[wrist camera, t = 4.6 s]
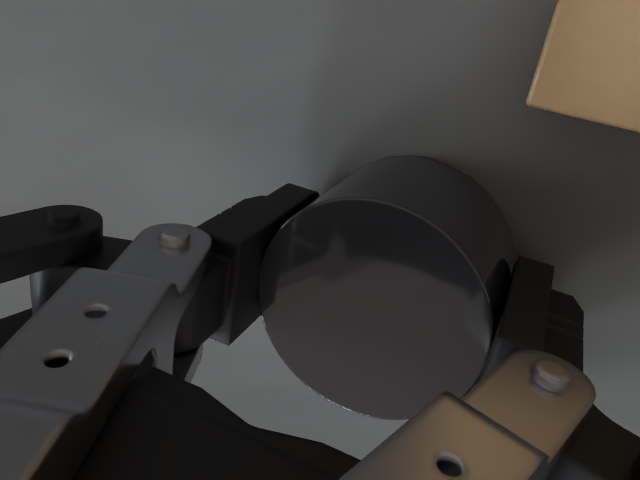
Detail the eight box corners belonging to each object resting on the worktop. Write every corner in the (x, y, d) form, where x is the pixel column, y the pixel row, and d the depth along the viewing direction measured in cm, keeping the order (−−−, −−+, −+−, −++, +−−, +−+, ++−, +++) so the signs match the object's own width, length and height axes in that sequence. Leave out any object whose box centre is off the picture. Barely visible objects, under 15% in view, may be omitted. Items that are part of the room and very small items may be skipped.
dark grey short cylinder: (307, 301, 15) (245, 367, 12) (337, 132, 13) (271, 166, 10) (479, 366, 14) (453, 457, 11) (543, 189, 12) (530, 245, 9)
